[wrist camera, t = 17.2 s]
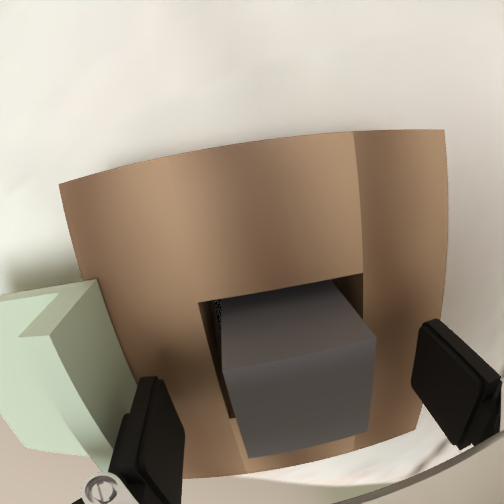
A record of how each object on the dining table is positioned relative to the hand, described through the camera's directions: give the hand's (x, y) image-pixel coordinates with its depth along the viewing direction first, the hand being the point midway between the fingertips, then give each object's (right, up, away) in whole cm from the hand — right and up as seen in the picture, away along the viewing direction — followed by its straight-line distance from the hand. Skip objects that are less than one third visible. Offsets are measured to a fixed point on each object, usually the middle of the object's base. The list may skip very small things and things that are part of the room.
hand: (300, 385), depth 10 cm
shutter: (-11, -1, +1) cm, 11 cm away
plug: (-1, +2, +6) cm, 7 cm away
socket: (-1, +2, +6) cm, 7 cm away
